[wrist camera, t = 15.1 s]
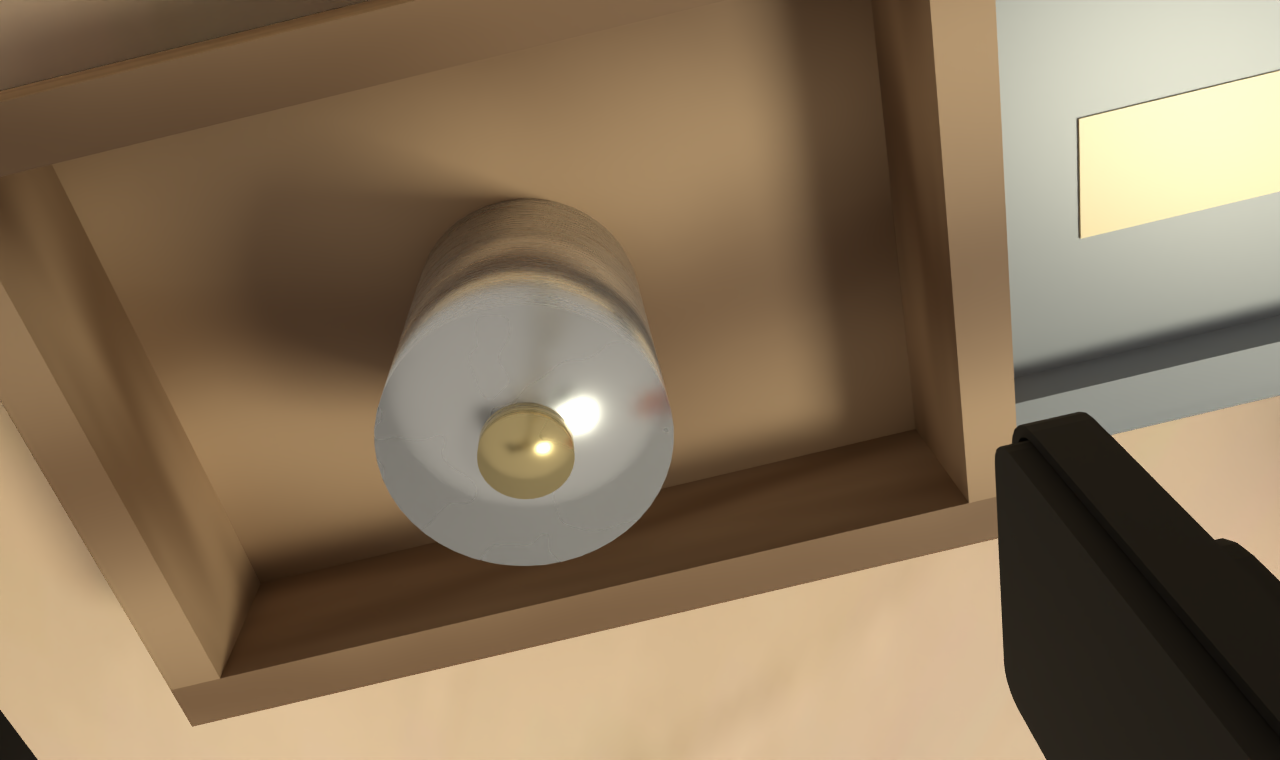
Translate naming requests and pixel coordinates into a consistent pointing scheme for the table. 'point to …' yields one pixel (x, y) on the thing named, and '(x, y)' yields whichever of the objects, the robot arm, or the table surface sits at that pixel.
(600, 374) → the cell
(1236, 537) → the table surface
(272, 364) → the trough
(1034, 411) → the tray
